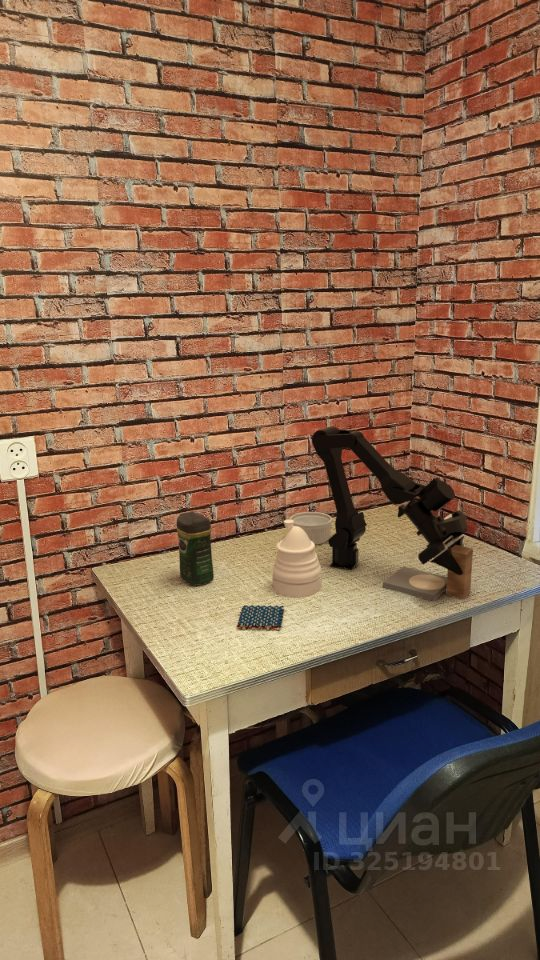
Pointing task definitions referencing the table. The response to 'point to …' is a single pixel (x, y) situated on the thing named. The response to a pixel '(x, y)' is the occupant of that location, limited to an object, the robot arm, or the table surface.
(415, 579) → the slate board
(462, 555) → the walnut block
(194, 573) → the coffee jar
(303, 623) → the table surface
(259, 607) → the woven mat
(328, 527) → the ramekin
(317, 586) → the honey pot
